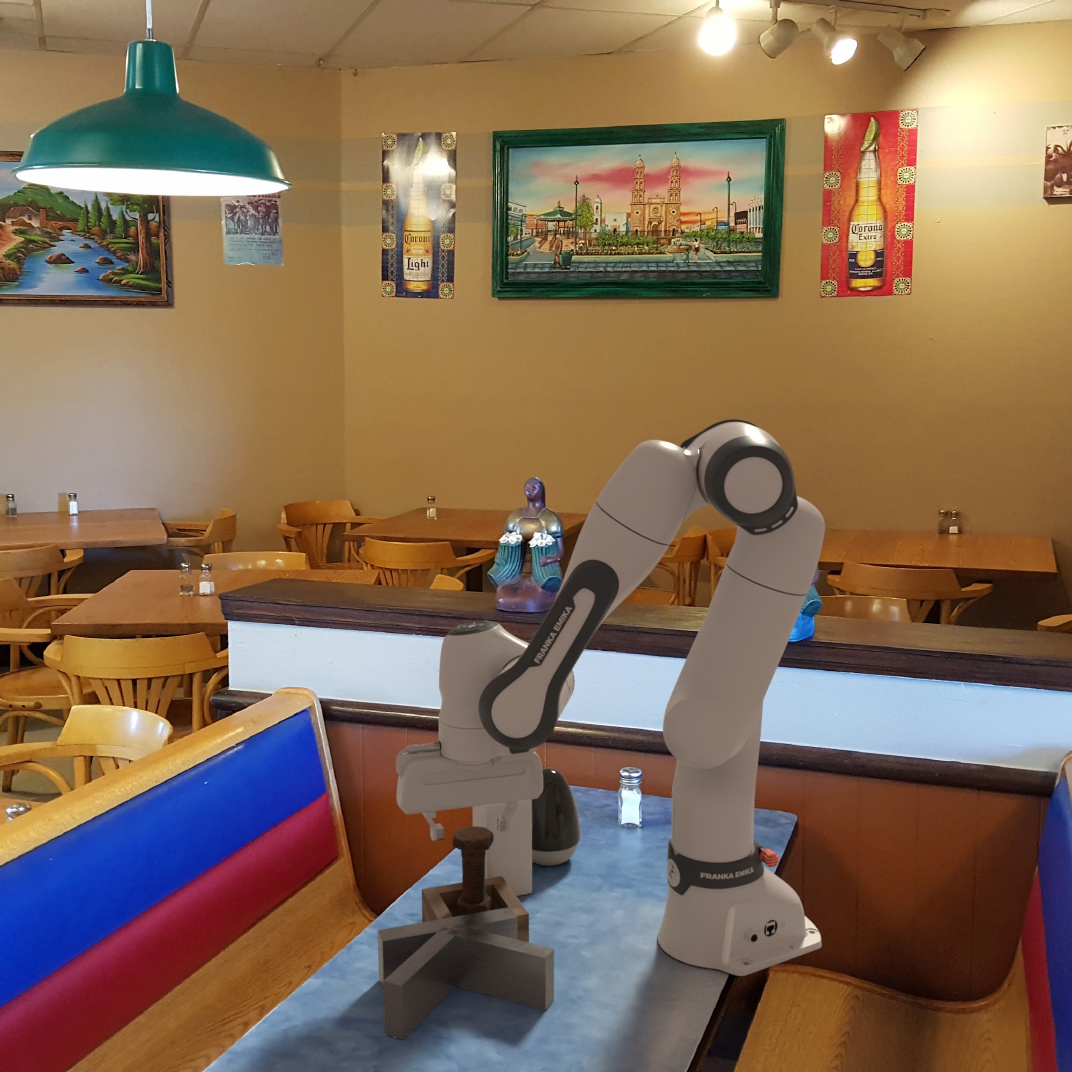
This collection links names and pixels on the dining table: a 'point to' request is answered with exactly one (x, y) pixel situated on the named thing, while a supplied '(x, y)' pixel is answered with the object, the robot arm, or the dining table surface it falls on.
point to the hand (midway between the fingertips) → (470, 834)
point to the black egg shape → (554, 821)
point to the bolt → (473, 868)
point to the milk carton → (509, 845)
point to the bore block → (445, 898)
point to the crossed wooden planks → (459, 965)
